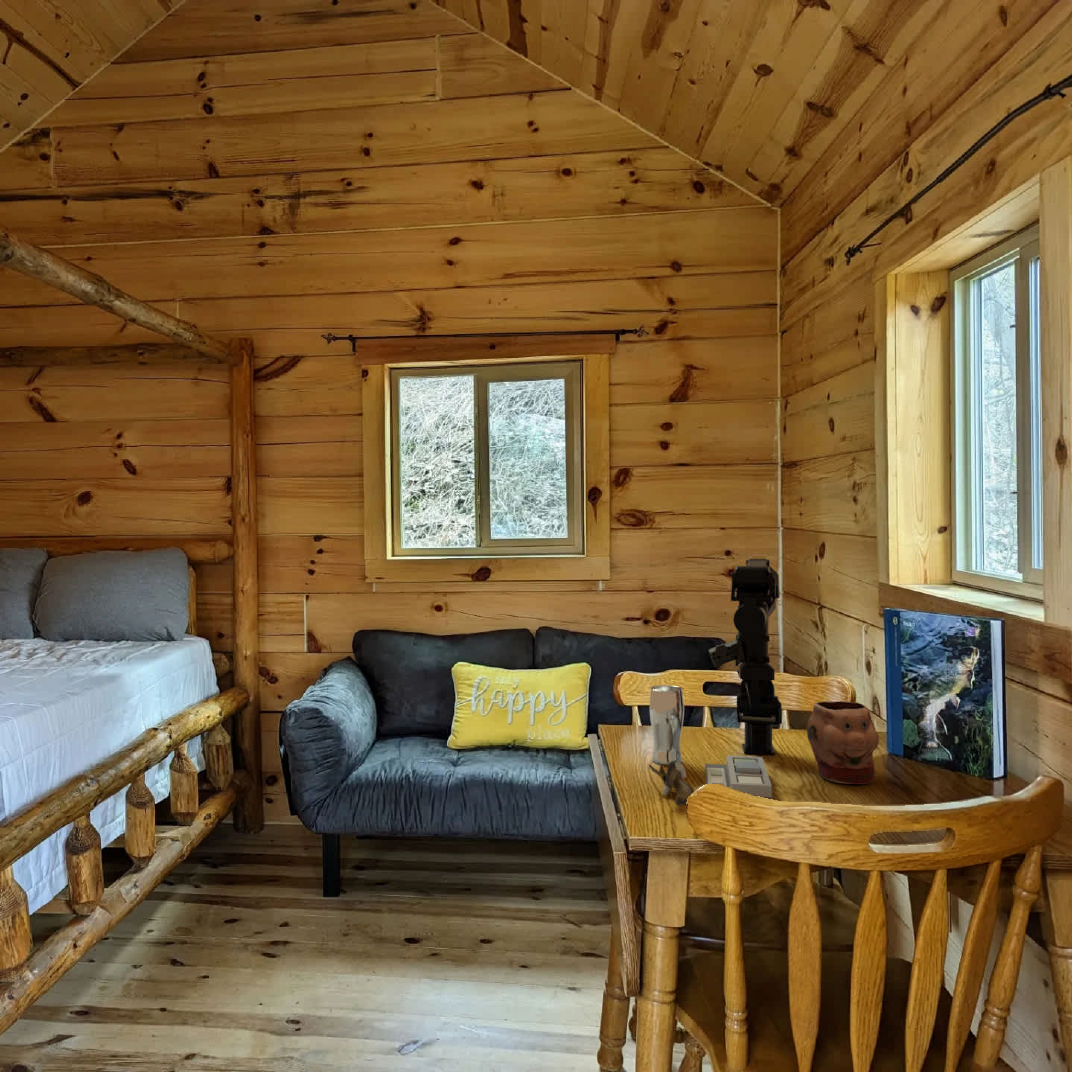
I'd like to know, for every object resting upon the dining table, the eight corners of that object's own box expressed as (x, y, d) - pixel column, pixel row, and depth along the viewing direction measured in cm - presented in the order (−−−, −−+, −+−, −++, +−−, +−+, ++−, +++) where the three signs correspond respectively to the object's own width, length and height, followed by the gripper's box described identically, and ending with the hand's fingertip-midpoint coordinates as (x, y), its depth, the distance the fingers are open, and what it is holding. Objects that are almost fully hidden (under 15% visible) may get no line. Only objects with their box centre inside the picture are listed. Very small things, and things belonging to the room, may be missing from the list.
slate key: (735, 769, 144) (735, 761, 144) (757, 770, 143) (757, 762, 143) (737, 776, 140) (737, 767, 140) (760, 777, 139) (759, 768, 139)
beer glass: (668, 768, 153) (668, 692, 153) (642, 760, 158) (642, 687, 158) (691, 761, 157) (690, 688, 157) (665, 754, 163) (664, 683, 163)
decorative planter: (789, 761, 157) (789, 693, 157) (848, 759, 158) (847, 692, 158) (833, 793, 137) (832, 715, 137) (899, 792, 138) (898, 714, 138)
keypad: (705, 768, 153) (704, 753, 153) (762, 771, 150) (762, 756, 150) (707, 801, 134) (707, 783, 134) (773, 804, 132) (772, 787, 132)
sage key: (734, 767, 150) (734, 758, 150) (755, 768, 149) (755, 759, 149) (735, 773, 146) (735, 764, 146) (757, 774, 145) (757, 765, 145)
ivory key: (737, 785, 139) (737, 776, 139) (760, 786, 138) (760, 777, 138) (739, 792, 135) (739, 783, 135) (762, 793, 134) (762, 784, 134)
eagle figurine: (638, 785, 140) (657, 791, 131) (656, 749, 142) (675, 753, 133) (673, 806, 140) (694, 813, 132) (690, 770, 142) (712, 775, 134)
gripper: (709, 623, 162) (710, 697, 162) (712, 634, 144) (713, 718, 144) (764, 624, 160) (765, 699, 160) (774, 635, 142) (775, 720, 142)
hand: (753, 708), depth 152 cm, fingers closed
